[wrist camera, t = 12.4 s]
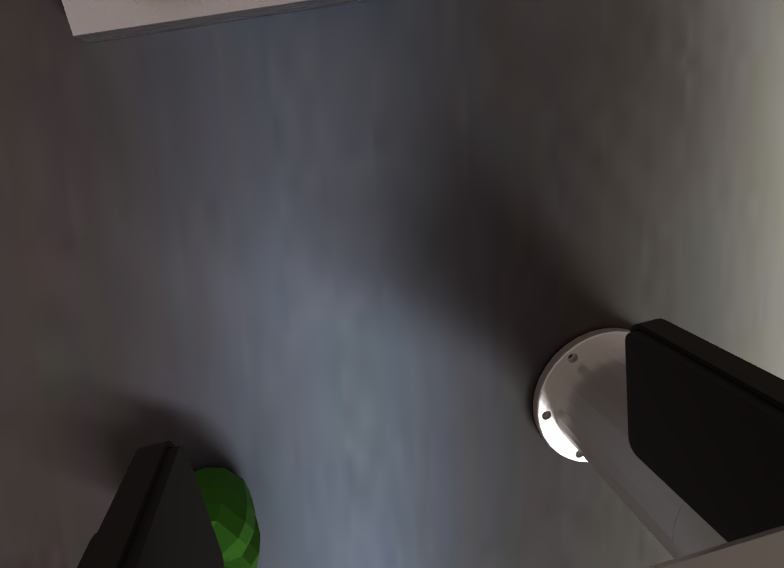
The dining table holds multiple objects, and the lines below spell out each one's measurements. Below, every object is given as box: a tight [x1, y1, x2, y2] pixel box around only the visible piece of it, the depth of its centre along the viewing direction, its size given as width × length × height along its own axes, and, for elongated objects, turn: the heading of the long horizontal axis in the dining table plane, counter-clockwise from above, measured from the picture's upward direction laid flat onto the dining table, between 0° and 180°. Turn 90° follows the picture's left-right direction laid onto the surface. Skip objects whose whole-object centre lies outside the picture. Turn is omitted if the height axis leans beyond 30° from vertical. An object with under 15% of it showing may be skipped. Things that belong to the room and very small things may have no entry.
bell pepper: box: [194, 467, 260, 568], centre depth 37 cm, size 8×8×10 cm
